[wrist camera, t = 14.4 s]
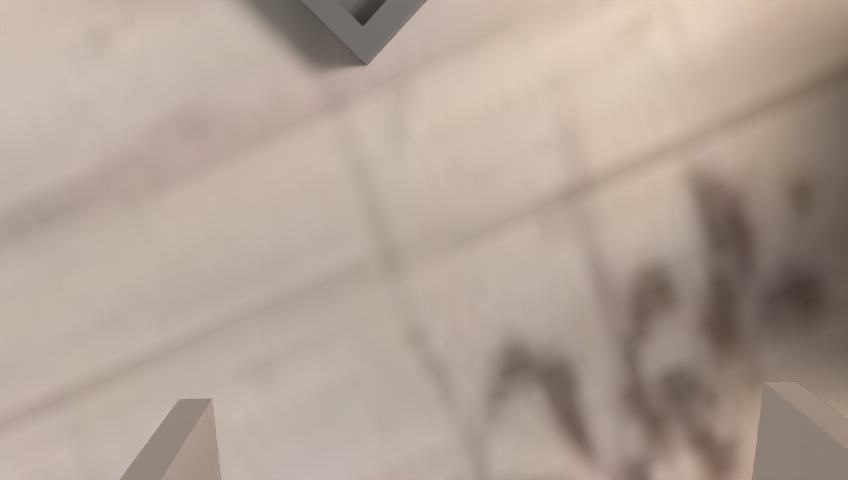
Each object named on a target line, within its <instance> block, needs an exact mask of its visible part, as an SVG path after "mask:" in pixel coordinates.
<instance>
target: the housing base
mask: <svg viewBox="0 0 848 480" xmlns="http://www.w3.org/2000/svg"><path fill="white" fill-rule="evenodd" d="M301 1H302V2H303V3H304V4H305V5H306V6H307V7H308V8H309V9H310V10H311V11H312V12H313V13H314V14H315V15H316V16H317V17H318V18H319V19H320V20H321V21H322V22H323V23H324V24H325V25H326V26H327V27H328V28H329V29H330V30H331V31H332V32H333V33H334V34H335V35H336V36H337V37H338V38H339V39H340V40H341V41H342V42H343V43H344V44H345V45H346V46H347V47H348V48H349V49H350V50H351V51H352V52H353V53H354V54H355V55H356V56H357V57H358V58H359V59H360V60H361V61H362V62H363V63H365V64H366V65H368V64H369V63H370V62H371V61H372V60H373V58H374V57H375V56H376V55H377V54H378V53H379V52H380V51H381V50H382V49H383V48H384V46H385V45H386V44H387V43H388V42H389V41H390V40H391V39H392V38H393V37H394V36H395V34H396V33H397V32H398V31H399V30H400V29H401V28H402V27H403V26H404V25H405V24H406V22H407V21H408V20H409V19H410V18H411V17H412V16H413V15H414V14H415V13H416V12H417V10H418V9H419V8H420V7H421V6H422V5H423V4H424V3H425V2H426V1H427V0H301Z"/></svg>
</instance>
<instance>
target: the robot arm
mask: <svg viewBox="0 0 848 480" xmlns="http://www.w3.org/2000/svg"><path fill="white" fill-rule="evenodd" d="M120 480H221V477H220V467H219V458H218V449H217V439H216V430H215V420H214V411H213V402H212V399H180V400H178V402H177V403H176V404H175V406H174V407H173V408H172V410H171V411H170V413H169V414H168V415H167V417H166V418H165V419H164V421H163V422H162V423H161V425H160V426H159V428H158V429H157V430H156V432H155V433H154V434H153V436H152V437H151V438H150V440H149V441H148V442H147V444H146V445H145V447H144V448H143V449H142V451H141V452H140V453H139V455H138V456H137V457H136V459H135V460H134V462H133V463H132V464H131V466H130V467H129V468H128V470H127V471H126V472H125V474H124V475H123V476H122V478H121V479H120ZM752 480H848V419H846V418H845V417H844V416H842V415H841V414H840V413H838V412H837V411H836V410H834V409H833V408H831V407H830V406H829V405H827V404H826V403H825V402H823V401H822V400H821V399H819V398H818V397H816V396H815V395H814V394H812V393H811V392H810V391H808V390H807V389H806V388H804V387H803V386H801V385H800V384H799V383H797V382H796V381H788V382H764V389H763V397H762V404H761V412H760V420H759V428H758V436H757V444H756V452H755V460H754V468H753V476H752Z"/></svg>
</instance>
